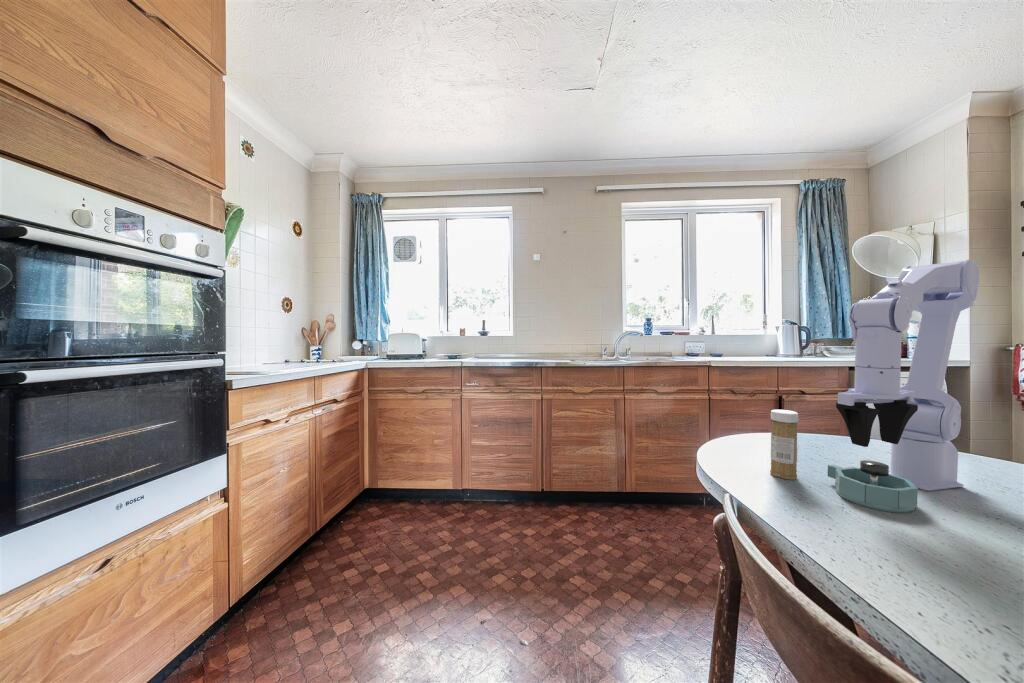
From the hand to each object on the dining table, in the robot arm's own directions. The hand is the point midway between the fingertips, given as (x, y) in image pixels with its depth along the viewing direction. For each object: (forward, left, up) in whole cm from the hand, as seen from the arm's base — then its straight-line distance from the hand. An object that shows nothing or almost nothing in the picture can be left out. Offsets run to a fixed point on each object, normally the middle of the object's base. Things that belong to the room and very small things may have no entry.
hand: (874, 443), depth 65 cm
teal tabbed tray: (0, -1, -10) cm, 10 cm away
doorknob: (0, 0, -9) cm, 9 cm away
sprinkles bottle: (+6, -12, -10) cm, 17 cm away
